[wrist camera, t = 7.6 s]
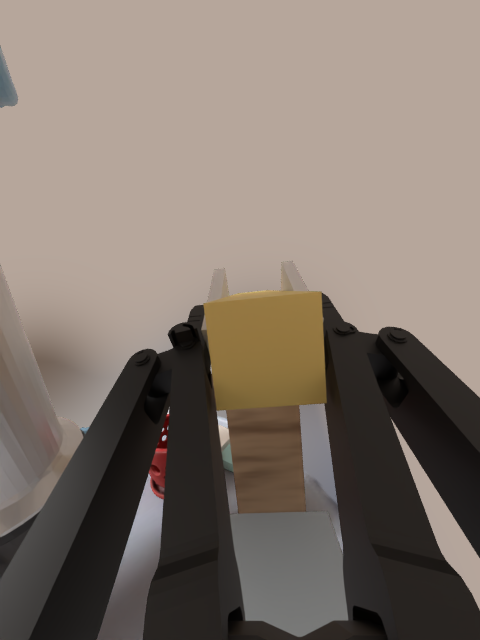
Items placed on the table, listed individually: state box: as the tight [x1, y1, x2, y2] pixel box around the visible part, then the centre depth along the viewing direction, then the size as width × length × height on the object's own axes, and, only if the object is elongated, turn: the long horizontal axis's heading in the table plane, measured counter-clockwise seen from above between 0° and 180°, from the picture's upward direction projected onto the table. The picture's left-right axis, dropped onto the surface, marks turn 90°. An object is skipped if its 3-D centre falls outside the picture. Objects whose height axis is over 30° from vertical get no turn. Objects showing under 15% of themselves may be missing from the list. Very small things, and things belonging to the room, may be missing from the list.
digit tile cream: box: [218, 425, 230, 451], centre depth 53 cm, size 6×6×2 cm
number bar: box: [204, 290, 327, 411], centre depth 18 cm, size 22×4×4 cm, turn 177°
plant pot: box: [149, 414, 169, 499], centre depth 43 cm, size 13×13×12 cm
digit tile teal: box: [222, 443, 234, 473], centre depth 47 cm, size 6×6×2 cm
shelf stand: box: [212, 375, 306, 514], centre depth 29 cm, size 17×10×30 cm, turn 177°
